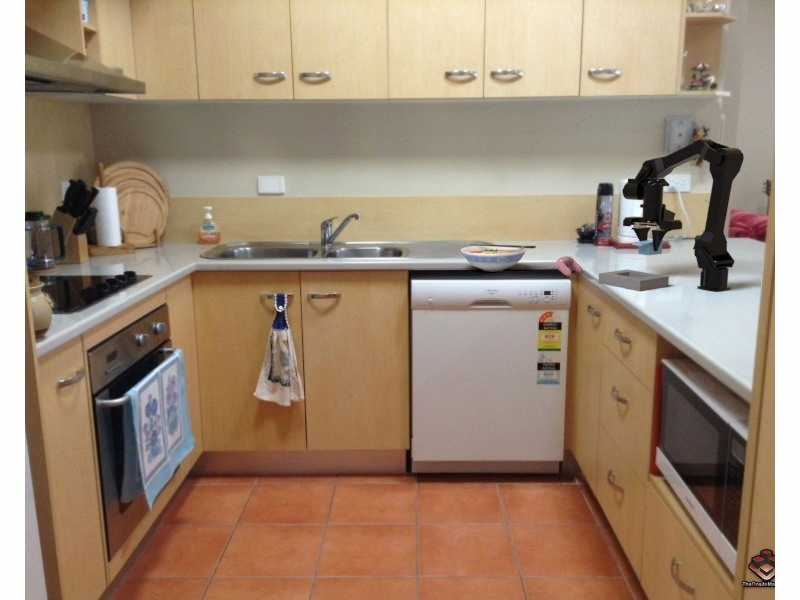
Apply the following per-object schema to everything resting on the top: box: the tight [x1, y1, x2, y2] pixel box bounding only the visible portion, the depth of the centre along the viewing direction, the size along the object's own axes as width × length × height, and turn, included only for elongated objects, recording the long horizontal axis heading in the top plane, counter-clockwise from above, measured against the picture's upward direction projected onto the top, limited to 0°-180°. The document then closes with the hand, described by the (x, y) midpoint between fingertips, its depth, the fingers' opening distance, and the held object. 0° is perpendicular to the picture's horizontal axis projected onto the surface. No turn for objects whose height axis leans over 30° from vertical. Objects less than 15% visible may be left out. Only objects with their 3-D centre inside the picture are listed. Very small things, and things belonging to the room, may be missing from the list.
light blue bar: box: [631, 239, 670, 256], centre depth 210 cm, size 4×12×4 cm, turn 119°
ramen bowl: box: [460, 243, 537, 273], centre depth 232 cm, size 25×23×8 cm
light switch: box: [598, 269, 670, 292], centre depth 200 cm, size 16×12×3 cm
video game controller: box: [555, 255, 583, 277], centre depth 222 cm, size 10×5×7 cm, turn 141°
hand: (650, 250), depth 211 cm, fingers closed on light blue bar, 4 cm apart
